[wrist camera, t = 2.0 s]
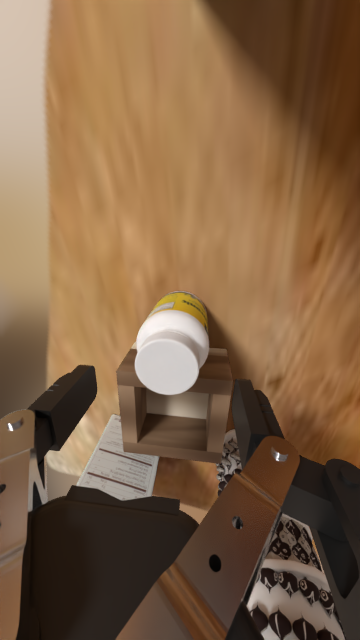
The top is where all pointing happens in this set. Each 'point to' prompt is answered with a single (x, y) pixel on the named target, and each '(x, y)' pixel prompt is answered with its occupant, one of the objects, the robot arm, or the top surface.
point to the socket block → (176, 412)
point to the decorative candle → (287, 576)
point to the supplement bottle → (173, 344)
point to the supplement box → (119, 467)
